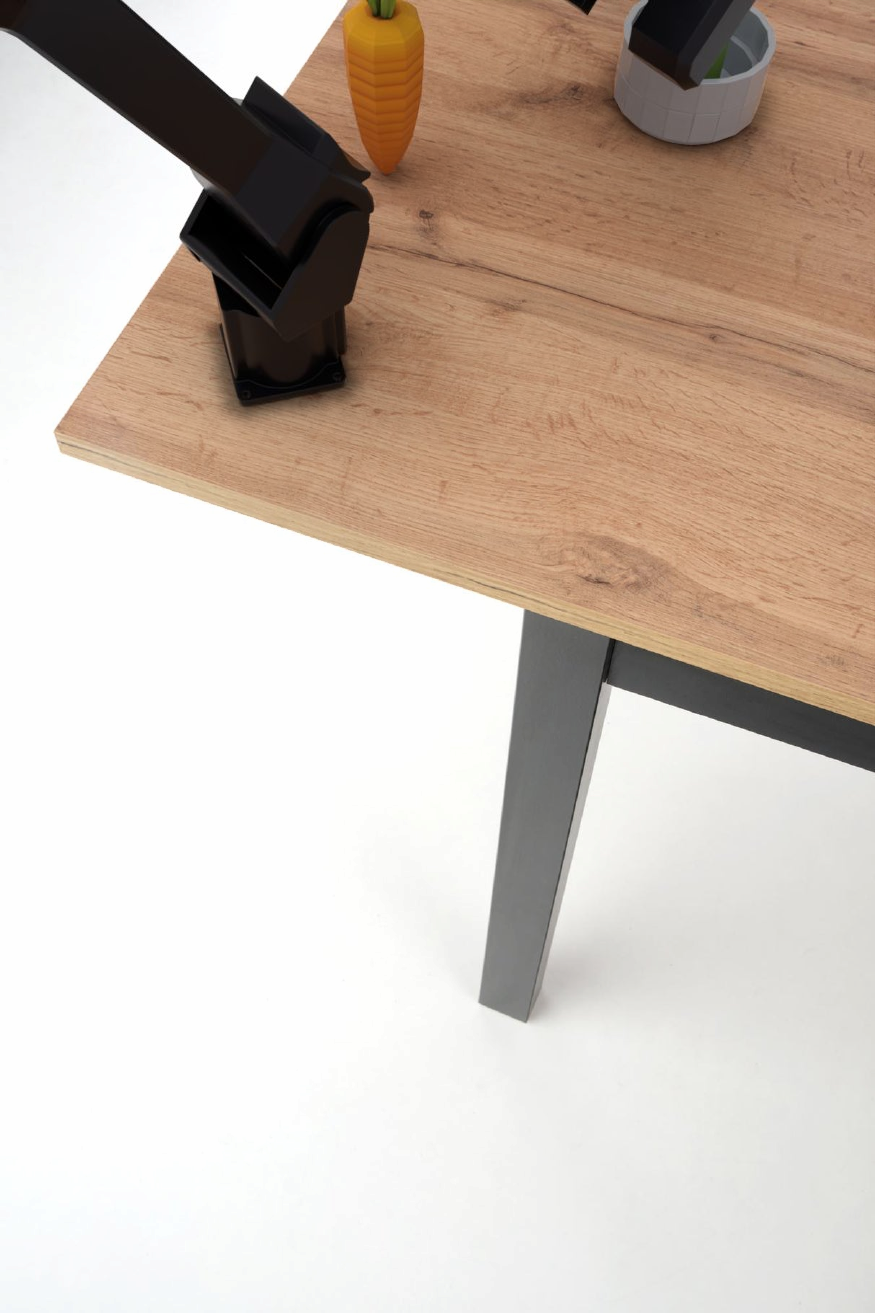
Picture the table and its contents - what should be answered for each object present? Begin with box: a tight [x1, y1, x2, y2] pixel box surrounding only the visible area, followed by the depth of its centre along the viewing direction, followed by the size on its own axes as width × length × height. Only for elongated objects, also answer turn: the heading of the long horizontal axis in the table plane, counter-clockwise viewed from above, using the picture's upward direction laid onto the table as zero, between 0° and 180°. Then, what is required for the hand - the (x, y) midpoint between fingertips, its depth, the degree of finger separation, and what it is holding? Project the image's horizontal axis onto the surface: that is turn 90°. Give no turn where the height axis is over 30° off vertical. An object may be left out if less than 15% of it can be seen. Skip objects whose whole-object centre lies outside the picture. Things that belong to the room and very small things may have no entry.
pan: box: [613, 0, 777, 146], centre depth 80 cm, size 10×10×5 cm
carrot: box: [341, 0, 425, 175], centre depth 71 cm, size 5×5×15 cm
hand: (647, 12), depth 72 cm, fingers open, 9 cm apart
